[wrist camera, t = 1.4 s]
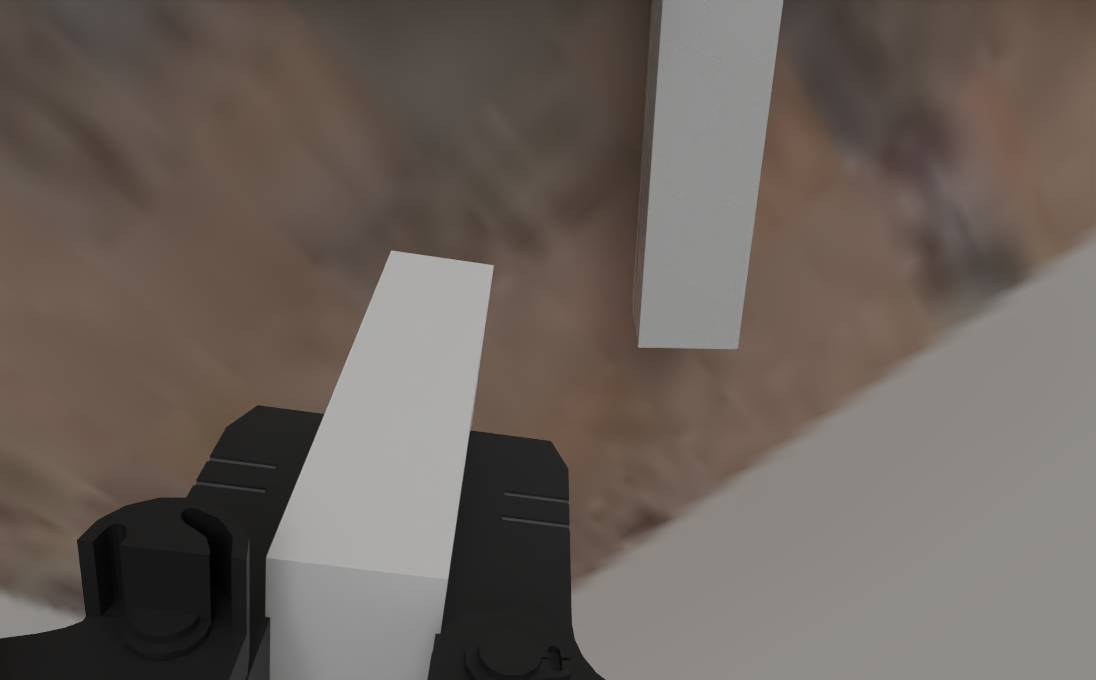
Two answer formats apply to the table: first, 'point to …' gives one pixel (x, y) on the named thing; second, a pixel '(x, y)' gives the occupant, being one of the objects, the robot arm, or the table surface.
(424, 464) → the robot arm
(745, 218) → the bar
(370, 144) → the table surface
